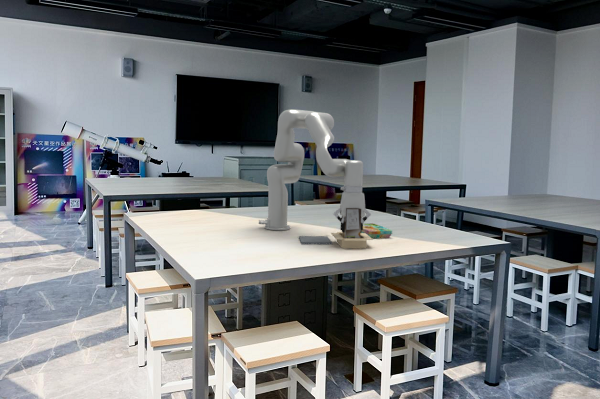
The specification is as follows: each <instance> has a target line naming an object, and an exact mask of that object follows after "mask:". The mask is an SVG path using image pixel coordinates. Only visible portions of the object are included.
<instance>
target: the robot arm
mask: <svg viewBox="0 0 600 399" xmlns="http://www.w3.org/2000/svg"><path fill="white" fill-rule="evenodd" d="M277 120H278V121H277V135H276V139H275V146H274V150H273V158H274V160H275V161H277V164H276V163H275V164H272V165H270V166H269V167H268V168H267V169H266V170H267V171H266V179H267V186H268V197H267V198H268V205H267V207H268V208H267V214H268V215H267V218H266V219H264V220H262V219H261V220H260V219H259V220H258V225H264V229H265V230H268V231H288V230H291V226H290V225H288V210H289V209H288V204H289V201H288V200H289V192H288V188H287V186H286V184H295V183H298V182H299V180H300V178H301V174H302V170H303V164H304V161H305V148H304V147H303V146H302V144H300V143H297V142H295V138H296V137H295V136H296V133H295V130H294V129H300V130H301V129H304V130H305V129H306V130H307V131H308V133H309V135H310V136H311V139H312V140H313V141H314V143H315V145H316V149H315V158H316V162H317V164H318V167H319V168H320V170H321V172H323V174H324V175H325V176H326V177H330V178H338V177H340V178H341V177H344V185H343V186H341V187H340V191H343V192H342V194H341V198H340V203H339V204H340V206H339V208H337V209H336V210H335V211H334V212H333V216H335V218H336V219H337V221H339V222H340V228H339V229H340V231H341V232H345V223H344V221H345V217H346V208H359V209H362V210H361V230H363V224H365V222H366V221H367V220H368V219H369V218H370V217H371V215H372V214H371V213H370V212H369V211H368V210H367V209H366V200H365V193H364V192H363V176H364V162H363V161H362V160H357V159H356V160H354V159H352V160H351V159H347V158H332V156H331V154H330V153H329V151H328V148H329V147H330V146H332V144H333V142H335V136H334V134H333V133H332V130H333V128H334V126H335V120H334V117H333V116H332V114H330V113H327V112H320V111H313V110H302V109H286V110H283V111H281V113H280V114H279V116H278V119H277ZM278 163H279V164H278ZM285 163H287V164H285ZM339 214H340V215H341V216H340V215H339Z"/></svg>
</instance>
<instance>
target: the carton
mask: <svg viewBox="0 0 600 399" xmlns="http://www.w3.org/2000/svg"><path fill="white" fill-rule="evenodd" d="M330 234H331V235H332V236H333V238H334V239H335V242H336V243H337V244H338V245H339V246H340V248H341V249H367V242H368V241H370V240H371V241H373V239H374V238H371V237H369V236H368V235H367V234H366V233H360V238H343V232H342V231H337V232H330Z"/></svg>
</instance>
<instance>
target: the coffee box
mask: <svg viewBox="0 0 600 399" xmlns="http://www.w3.org/2000/svg"><path fill="white" fill-rule="evenodd" d="M361 210H362V209H359V208H346V217H345V221H344V223H345V232H343V238H360V233H361Z"/></svg>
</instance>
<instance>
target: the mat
mask: <svg viewBox="0 0 600 399" xmlns="http://www.w3.org/2000/svg"><path fill="white" fill-rule="evenodd" d="M298 241H299V242H300V244H301V245H333V241H332V240H331V239H330V237H329V236H327V235H326V236H325V235H324V236H322V235H313V236H312V235H311V236H310V235H301V236H300V235H298Z"/></svg>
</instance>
